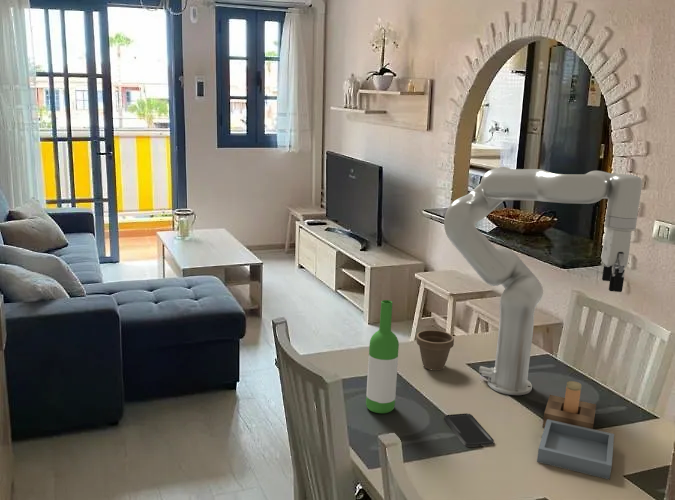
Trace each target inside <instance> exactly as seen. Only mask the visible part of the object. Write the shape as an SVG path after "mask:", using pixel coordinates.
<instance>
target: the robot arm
mask: <svg viewBox="0 0 675 500" xmlns="http://www.w3.org/2000/svg"><path fill="white" fill-rule="evenodd" d="M642 188H643V180H642V178H641V177H640V176H638V175H634V174H626V173H624V174H623V173H621V174H620V173H619V174H616V173H611V172H607V171H603V170H591V171H589V172H587V173H584V174H582V173H581V174H577V173H576V174H572V173H571V174H569V173H568V174H566V173H565V174H563V173H553V172H550V171H547V170H545V169H540V168H538V169H537V168H525V169H524V168H523V169H522V168H516V169H515V168H510V167H506V166H499V167H495V168H492V169H490V170H488V171H486V172H484V174H483V175H482V177H481V180H480V183H479V184H478V185H477V186H476V187H475V188H473V189H472V190H471V191H470V192H469V193H468V194H466V195H463V196H461V197H459V198H457V199H455V200H454V201H452V202H451V204H450V205H449V206H448V208H447V209H446V212H445V214H444V220H443V221H444V222H443V227H444V231H445V234H446V237H447V238H448V240H449V241H450V242H451V244H452V245H453V246H454V247H455V249H456V250H457V251H458V252H459V253H460V254H461V255H462V257H463V258H464V259H465V261H466V262H467V263H468V264H469V266H470V267H471V268H472V269H473V270H474V271H475V272H476V274H477V275H478V276H479V277H480V278H481V280H482V281H483V282H484V283H486V284H487V285H489V286H491V287H492V286H493V287H496V286H500V285H502V287H503V288H504V289H503V291H502V293H501V295H500V299H499V324H498V331H497V332H498V333H497V334H498V335H497V343H496V344H497V345H496V353H495V362H494V367H487V366H482V365H480V366H479V368H478V369H479V370H478V372H479V373H481V376H484V377H488V378H487V385H488V386H489V388H490V389H492V390H494V391H496V392H497V393H500V394H504V395H508V396H522V395H523V396H524V395H528V394H530V393H531V392H532V390H533V385H532V383H531V381H530V380H528V376H529V368H530V361H531V359H530V358H531V353H532V352H531V351H532V344H533V335H534V325H535V324H534V321H535V318H534V317H535V311H536V307H537V305H538V304H539V303H540V302H541V300H542V298H543V295H544V289H543V286H542V283H541V281H540V280H539V279H538V277H537V276H536V275H535V274H534V273H533V271H532V270H531V269H530V268H529V267H528V266H527V265H526V263H524V261H523V260H522V259H521V258H520V256H519V255H517V254H516V253H515V252H514V251H512V249H509V248H507V247H502V246H501V247H500V246H499V247H495V245H493V244H492V243H491V242H490V240H489V239H488V238H487V237H486V235H485V234H483V233H482V232H481V231H480V230H478V229H477V227H476V226H475V225H476V223H478V222H480V221H482V220H483V219H485V218H486V217H487V216H489V214H490V213H492V212H493V211H494V210H495V209H496V208H497V207H498V206H499V205H500V204H502V203H503V202H504V201H506V200H507V201H535V202H537V201H538V202H543V203H544V202H546V203H547V202H548V203H559V204H578V205H579V204H583V205H584V204H587V205H589V204H596V203H597V202H599V201H601V200H602V199H607V205H606V206H607V207H606V212H605V220H604V226H603V227H604V228H605V229H606V230H605V235H604V240H603V243H602V244H603V246H602V251H601V256H600V257H601V261H602V262H603V264H604V265H603V269H602V276H601V277H602V278H601V280H602V281H603V282H609V285H608V290H609V292H614V293H615V292H617V293H623V287H624V281H625V268H626V267H627V266H628V263H629V255H630V249H631V247H630V246H631V240H632V238H631V237H632V232H634V231H636V229H637V228H636V227H637V221H638V215H639V214H638V213H639V209H640V201H641V195H642Z"/></svg>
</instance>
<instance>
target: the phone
mask: <svg viewBox="0 0 675 500" xmlns="http://www.w3.org/2000/svg"><path fill="white" fill-rule="evenodd" d="M443 420H444V422H445V423H446V424H447V426H448V427H449V428H450V429H451V430H452V432H453V433H454V435H456V437H457V438H458V439H459V441H460V442H461V444H462V445H464V446H465V447H466V448H472V447H473V448H475V447H485V446H493V445H494V441H495V439H493V437H492V436H491V435H490V433H488V431H486V430H485V428H484V427H483V426H482V425H481V423H480V422H478V420H477V419H476V418H475V417H474V416H473V415H472V414H471V413H456V414H455V413H453V414H445V415H444V416H443Z"/></svg>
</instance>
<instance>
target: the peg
mask: <svg viewBox="0 0 675 500" xmlns="http://www.w3.org/2000/svg"><path fill="white" fill-rule="evenodd" d="M581 393H582V384H581V383H580V382H578V381H574V380H568V381H567V382H566V387H565V394H564V398H565V401H564V408H563V411H565V412H570V413H574V414H578V407H579V401H580V399H581Z"/></svg>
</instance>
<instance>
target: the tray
mask: <svg viewBox="0 0 675 500" xmlns="http://www.w3.org/2000/svg"><path fill="white" fill-rule="evenodd" d="M543 428H544V427H543ZM614 440H615V433H611V432H607V431H603V430H598V429H594V428H593V429H590V428H585V427H580V426H576V425H571V424H567V423H562V422H558V421H553V420H549V419H547V421H546V424H545V428H544V429H543V432H542V436H541V439H540V442H539V445H538V450H537V458H536V462H537V463H541V464H544V465H549V466H551V467H556V468H561V469H566V470H568V469H569V471H574V472H578V473H582V474H585V475H590V476H593V477H597V478H602V479H605V480H610V478H611V474H612V473H611V471H612V466H613V455H614V443H615V441H614Z"/></svg>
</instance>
